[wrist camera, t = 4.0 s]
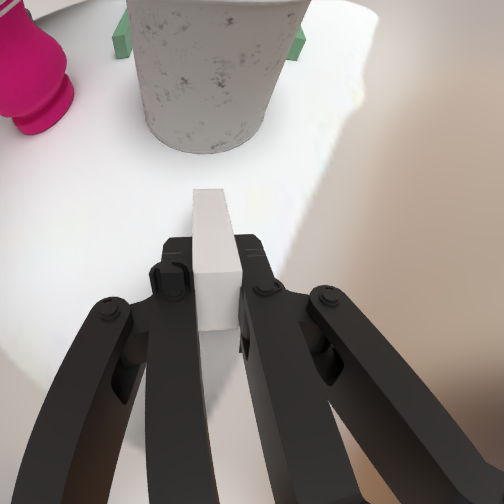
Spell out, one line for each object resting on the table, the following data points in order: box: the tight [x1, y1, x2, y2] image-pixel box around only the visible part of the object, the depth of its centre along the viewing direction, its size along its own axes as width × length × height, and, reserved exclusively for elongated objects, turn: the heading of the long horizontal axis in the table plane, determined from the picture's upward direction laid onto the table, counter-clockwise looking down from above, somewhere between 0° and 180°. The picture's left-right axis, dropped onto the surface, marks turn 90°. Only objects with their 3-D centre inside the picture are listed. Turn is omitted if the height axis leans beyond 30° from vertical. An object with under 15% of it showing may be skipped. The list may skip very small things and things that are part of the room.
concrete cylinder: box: [126, 0, 311, 154], centre depth 13 cm, size 10×10×12 cm
